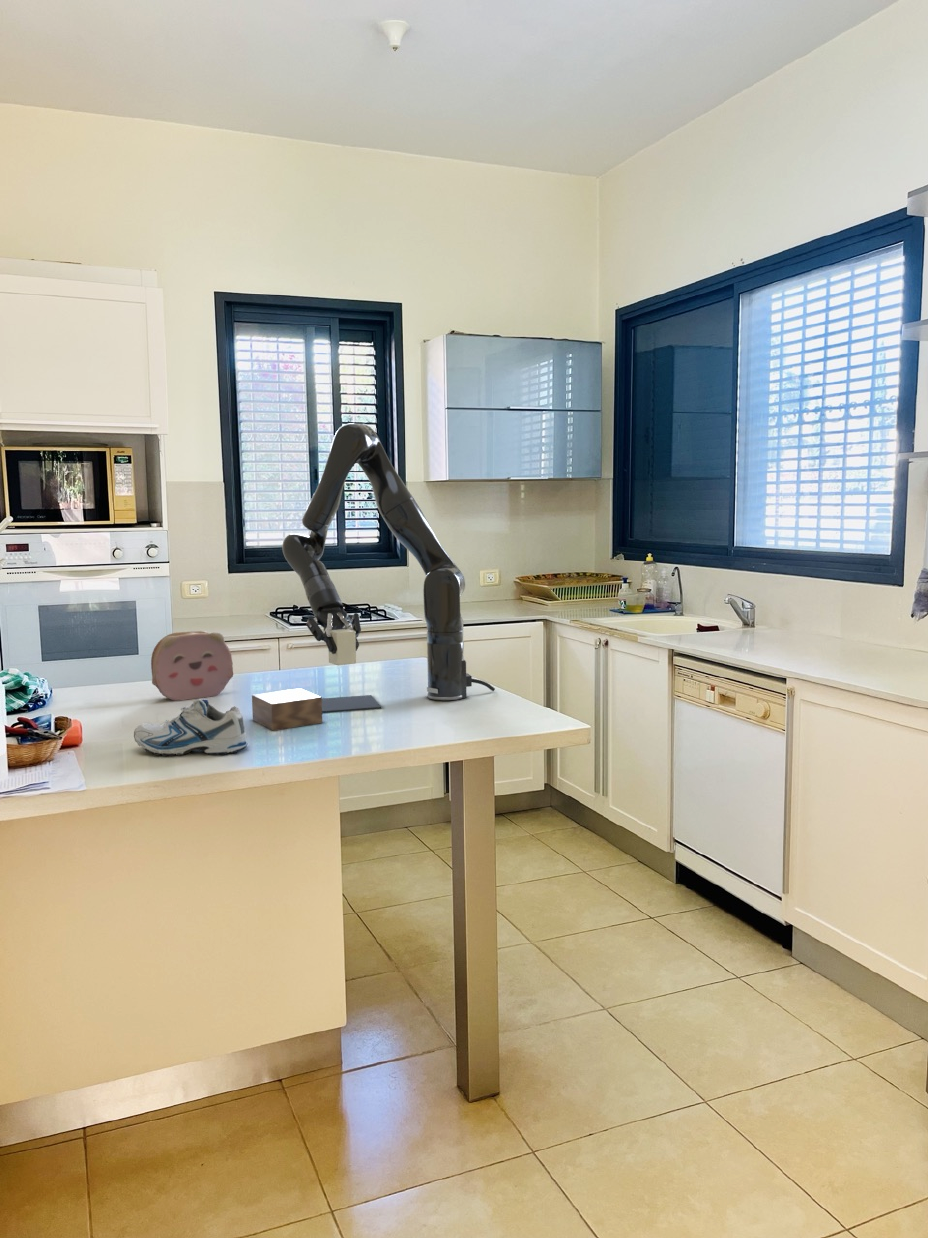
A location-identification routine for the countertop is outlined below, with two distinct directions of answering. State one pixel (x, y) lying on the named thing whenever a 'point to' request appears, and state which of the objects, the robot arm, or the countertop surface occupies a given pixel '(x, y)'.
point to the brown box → (287, 709)
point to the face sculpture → (191, 665)
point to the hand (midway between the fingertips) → (345, 650)
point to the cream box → (343, 647)
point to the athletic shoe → (195, 732)
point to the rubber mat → (349, 703)
